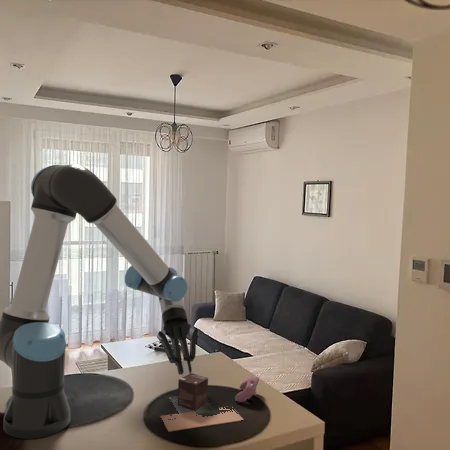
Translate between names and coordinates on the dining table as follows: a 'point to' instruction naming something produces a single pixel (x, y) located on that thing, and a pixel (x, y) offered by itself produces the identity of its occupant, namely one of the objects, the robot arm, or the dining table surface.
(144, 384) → the dining table surface
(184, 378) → the box
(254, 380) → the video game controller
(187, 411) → the t mat
